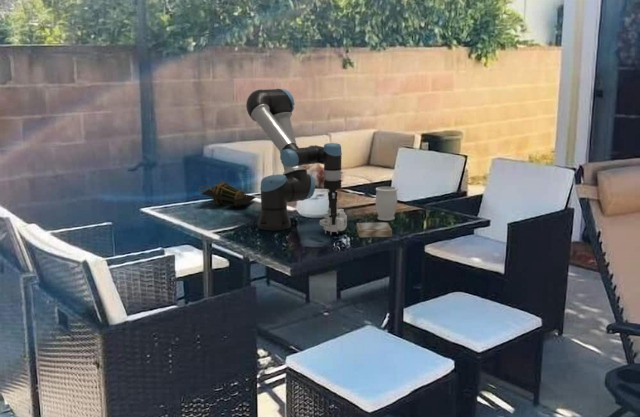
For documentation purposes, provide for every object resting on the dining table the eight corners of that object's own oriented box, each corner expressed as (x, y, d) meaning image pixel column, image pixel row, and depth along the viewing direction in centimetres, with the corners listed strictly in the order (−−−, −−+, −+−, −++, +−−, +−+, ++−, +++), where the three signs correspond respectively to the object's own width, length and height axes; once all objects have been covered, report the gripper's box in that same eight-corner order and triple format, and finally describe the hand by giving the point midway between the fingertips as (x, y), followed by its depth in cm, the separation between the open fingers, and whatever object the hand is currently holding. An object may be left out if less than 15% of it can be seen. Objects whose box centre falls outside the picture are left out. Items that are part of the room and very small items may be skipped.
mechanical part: (326, 228, 303) (326, 203, 301) (350, 231, 298) (350, 205, 295) (314, 234, 293) (314, 207, 291) (339, 237, 288) (339, 210, 285)
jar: (395, 221, 316) (396, 190, 313) (373, 221, 318) (374, 189, 315) (397, 216, 326) (398, 186, 323) (376, 216, 328) (377, 185, 325)
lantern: (241, 218, 342) (187, 201, 345) (252, 213, 365) (201, 196, 368) (248, 192, 340) (193, 175, 343) (259, 189, 363) (207, 173, 366)
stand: (359, 237, 288) (359, 229, 287) (356, 229, 302) (356, 222, 301) (391, 236, 289) (392, 229, 288) (387, 229, 302) (387, 221, 302)
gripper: (343, 184, 279) (343, 234, 284) (339, 174, 302) (339, 221, 307) (325, 184, 279) (325, 235, 283) (322, 174, 302) (323, 222, 307)
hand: (332, 228), depth 295 cm, fingers closed on mechanical part, 11 cm apart
